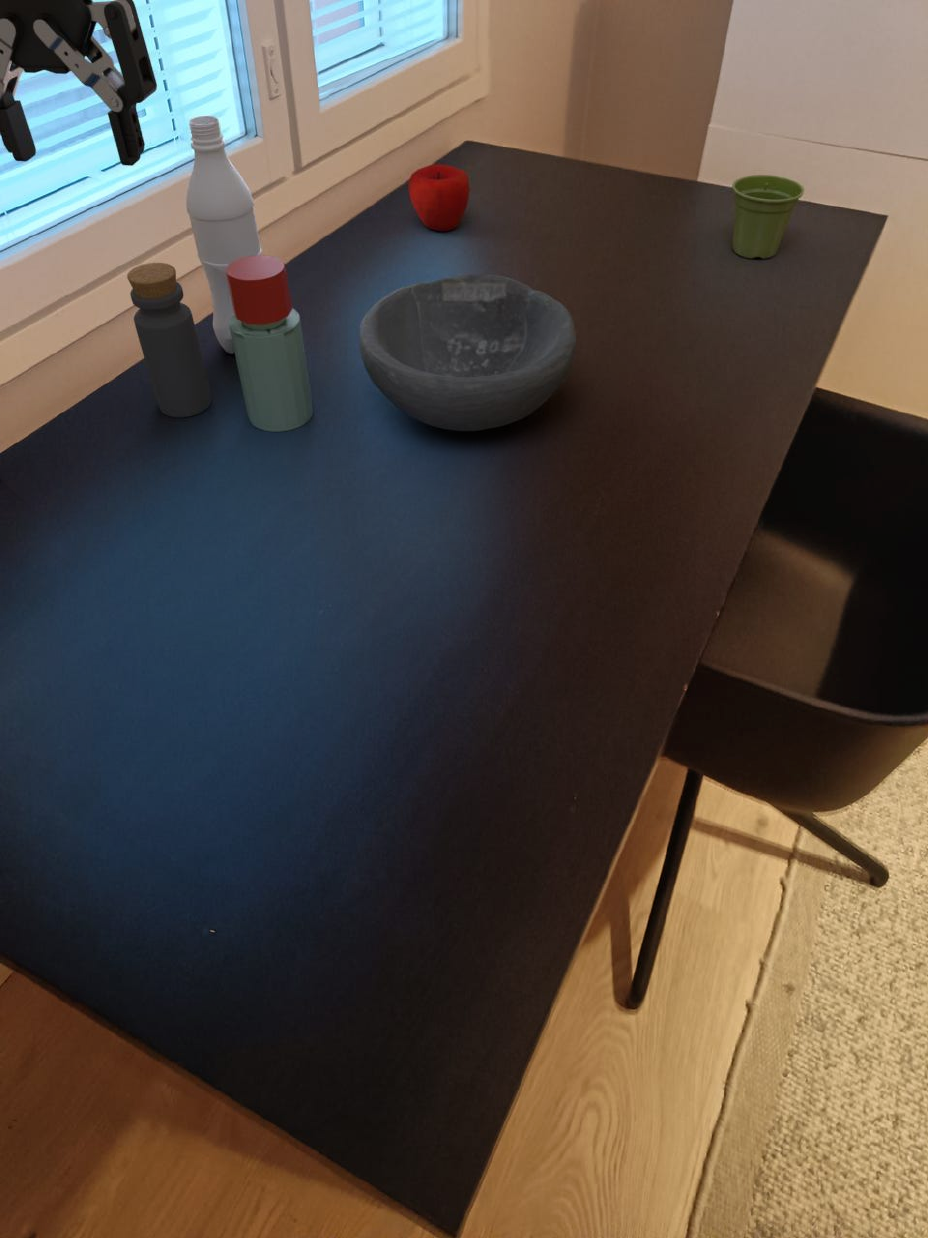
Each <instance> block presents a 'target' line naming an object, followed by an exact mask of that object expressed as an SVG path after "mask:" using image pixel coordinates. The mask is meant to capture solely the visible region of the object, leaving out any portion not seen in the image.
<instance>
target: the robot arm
mask: <svg viewBox="0 0 928 1238" xmlns="http://www.w3.org/2000/svg"><path fill="white" fill-rule="evenodd" d="M97 24H98V25H99V26H100V27H101V28H102V31H103V34H104V36H106V37H107V38H108V39H109V40H111V42H112V46H113V48H114V52H115V54H116V59H117V62H118V65H119V68H120V70H119V69H117V68H116V66H115V61H114V60H113V58H112V56H111V55H109V53H108V52H107V51H106V50H105V49H104V48H103V46H102V45H101V44H100V43H99V42H98V40H96V38H95V37H94V36H93V35H94V33H95V29H96V26H97ZM142 29H143V28H142V25H141V22H140V17H139V13H138V11H137V7H136V3H135V2H134V0H106V1H105V0H104V1H93V0H0V137H1V141H2V144H3V146H4V148H5V149H6V151H7V153H9V154H12V157H13V159H14V160H15V161H16V162H28V161H29V160H31V159H33V157H35V156H36V154H37V148H36V144H35V142H34V139H33V134H32V132H31V129H30V126H29V122H28V120H27V117H26V114H25V111H24V108H23V105H22V101H21V100H20V99H19V100H16V99H15V95H16V92H17V89H18V86H19V82H20V79H21V76H22V74H23V73H25V74H27V73H28V74H36V73H39V72H42V71H46V72H49V73H51V74H55V75H56V74H58V75H67V74H68V73H70V72H71V73H72V74H73V75H74V76H75V77H76V78H77V80H79V81H80V83H81V84H83V85H84V86H85V87H88V88H90V89H91V90H93V92H94V93H95V94H96V95H97V96H98V97H99V98H100V99H101V101H102V102H103V103H104V104H105V105H106V106H107V107H108V109H110V110H109V111H108V112H107V116H108V121H109V124H110V127H111V131H112V135H113V139H114V143H115V147H116V150H117V151H116V152H117V154H118V158H119V161H120V164H121V165H122V166H127V167H128V166H129V167H130V166H131V167H133V166H134V165H135V164H137V162H139V161H140V159H141V155H142V154H143V152H145V148H146V147H145V146H146V142H145V140H144V136H143V131H142V126H141V122H140V119H139V115H138V112H137V104H141V103H143V102H144V101H145V100H146V99H148V98H149V97H150V96H152V94H154V93H156V91H157V88H158V83H157V79H156V75H155V72H154V69H153V66H152V62H151V59H150V54H149V51H148V47H147V43H146V40H145V36H144V33H143V30H142ZM86 58H87V59H88V60H87V59H86Z"/></svg>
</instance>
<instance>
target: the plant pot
mask: <svg viewBox="0 0 928 1238" xmlns="http://www.w3.org/2000/svg"><path fill="white" fill-rule="evenodd" d="M731 190H732V191H733V199H734V203H735V204H734V220H733V234H732V249H733V252H734V253H735V254H736V255H738V256H741V257H744V258H746V259H755V258H760V259H763V260H764V259H769V258H772V257H774V256H775V255H776V254H777V252H778V251H779V248H780V246H781V242H782V239H783V236H784V234H785V232H786V229H787V226H788V223H789V220H790V218H791V216H792V212H793V211H794V208H795V207H796V206H797V204H798V202H799V199H801V198H802V197H803V195H804V193H805V189H804V186H802V184H800V183H799V182H797V181H795V180H793V179H791V178H787V177H783V176H778V175H769V174H754V175H747V176H746V175H745V176H742V177H740V178H737V179H736V180H734V181H733V183H732V185H731Z"/></svg>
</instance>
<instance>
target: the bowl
mask: <svg viewBox="0 0 928 1238" xmlns="http://www.w3.org/2000/svg"><path fill="white" fill-rule="evenodd" d="M576 346H577V332H576V326H575V321H574V320H573V316H572V315H571V313H570V312H569V310H568V309H567V307H565V305H563V304H562V303H561V302H560V301H558V300H557V299H555V298H553V297H551V296H550V295H549V294H547V293H545V292H543V291H541V290H534V289H533V288H531V287H530V286H528V285H526V284H525V283H522V282H520V281H518V280H515V279H513V278H511V277H507V276H504V275H497V274H479V273H474V272H473V273H466V274H461V275H459V274H458V275H449V276H446V277H445V276H444V277H442V278H439V279H436V280H431V281H424V282H416V283H413V284H411V285H404V286H403V287H401V288H398V289H396V290H394V291H392V292H390V293H388V294H387V295H385V296H383V297H381V298H380V299H379V300H378V301H377V302H376V303H374V304H373V305H372V306H371V307H370V309H369V310H368V311H367V312H366V314H365V315H364V317H363V319H361V322H360V326H359V352H360V357H361V361H362V364H363V366H364V369H365V370H366V373H367V374H368V377H369V378H370V380H371V382H372V383H373V384H374V385H375V387H376V388H377V389H378V390H379V392H380V393H381V394H382V395H383V396H384V397H385V398H386V399H387V400H388V401H389V402H391V403H392V404H393V405H394V406H395V407H396V408H398V409H399V410H400V411H401V412H404V413H405V414H407V415H408V416H409V417H412V418H413V419H415V420H417V421H419V422H422V423H424V424H426V425H429V426H432V427H435V428H439V429H443V430H449V431H456V432H457V431H458V432H478V431H483V430H489V429H490V430H491V429H494V428H499V427H504V426H508V425H510V424H513V423H515V422H518V421H520V420H522V419H524V418H526V417H528V416H530V415H531V414H532V413H534V412H535V411H536V410H538V409H539V408H540V407H541V406H542V405H544V404H545V403H546V402H547V401H548V400H549V399H550V398H551V396H552V395H554V393H555V392H556V391H557V389H558V388H559V386H560V385H561V384H562V383H563V381H564V380H565V378H566V377H567V375H568V373H569V371H570V368H571V366H572V364H573V360H574V356H575V352H576Z"/></svg>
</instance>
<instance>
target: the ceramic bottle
mask: <svg viewBox="0 0 928 1238" xmlns="http://www.w3.org/2000/svg"><path fill="white" fill-rule="evenodd" d="M229 328H230V332H231V337H232V342H233V347H234V352H235V353H234V357H235V362H236V366H237V371H238V375H239V380H240V386H241V390H242V395H243V400H244V404H245V409H246V413H247V416H248V421H249V422H250V423H251V425H252V426H254V427H255V428H256V429H259V430H261V431H265V432H272V433H281V432H287V431H292V430H295V429H298V428H300V427H302V426H304V425H305V424H306V423H308V422H309V421H310V420H311V418H312V417H313V414H314V408H313V398H312V391H311V384H310V378H309V371H308V364H307V357H306V350H305V342H304V337H303V336H304V335H303V330H302V324H301V315H300V314H299V312H297V310H296V309H295V308H293V307H292V310H291V312H290V314H289V316H288V317H286V318H284V319H282V320H280V321H278V322H275V323H270V324H265V325H254V324H246V323H244V322H241V321H239V320H237V318H236V316H235V314H234V315H233V316H232V317H231V318H230V322H229Z"/></svg>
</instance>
